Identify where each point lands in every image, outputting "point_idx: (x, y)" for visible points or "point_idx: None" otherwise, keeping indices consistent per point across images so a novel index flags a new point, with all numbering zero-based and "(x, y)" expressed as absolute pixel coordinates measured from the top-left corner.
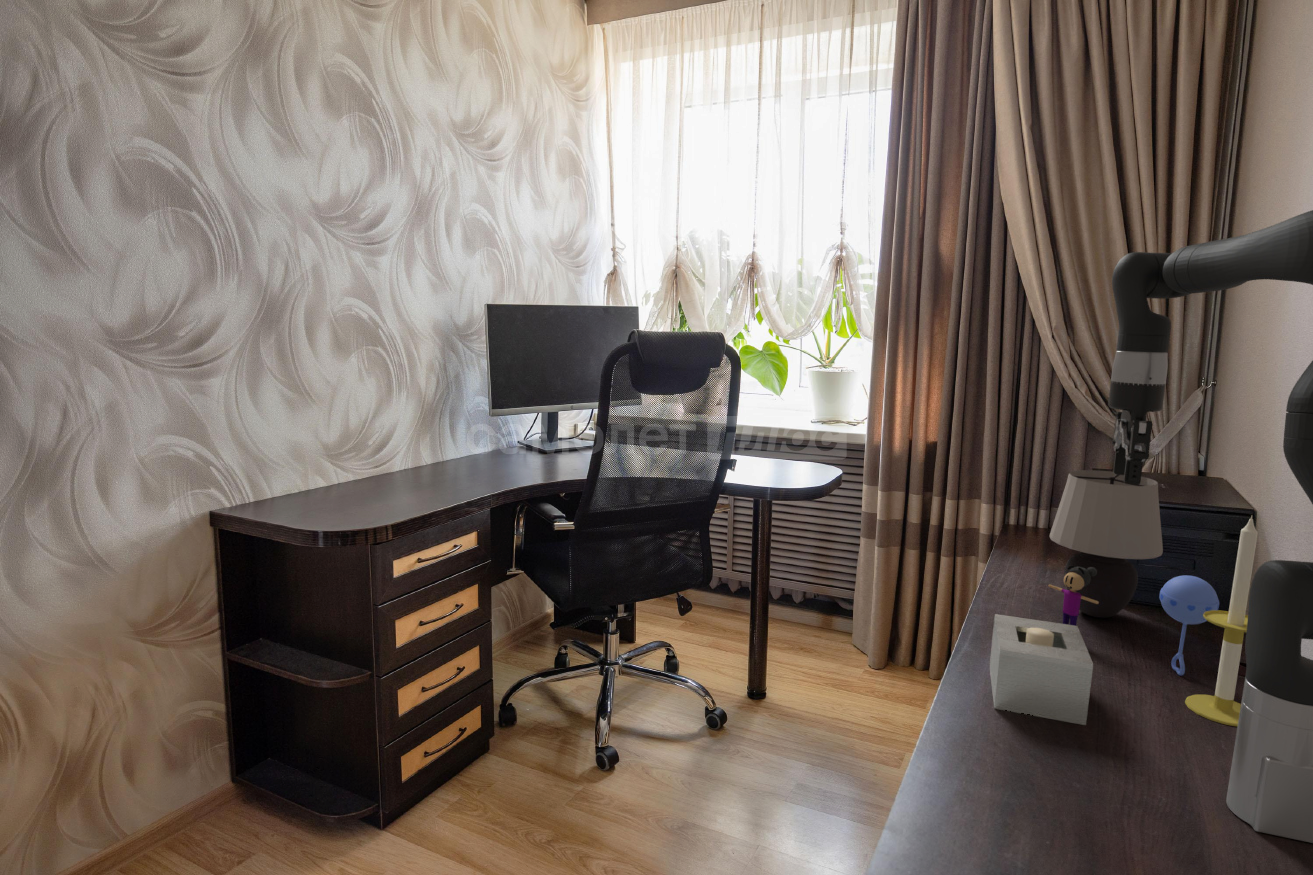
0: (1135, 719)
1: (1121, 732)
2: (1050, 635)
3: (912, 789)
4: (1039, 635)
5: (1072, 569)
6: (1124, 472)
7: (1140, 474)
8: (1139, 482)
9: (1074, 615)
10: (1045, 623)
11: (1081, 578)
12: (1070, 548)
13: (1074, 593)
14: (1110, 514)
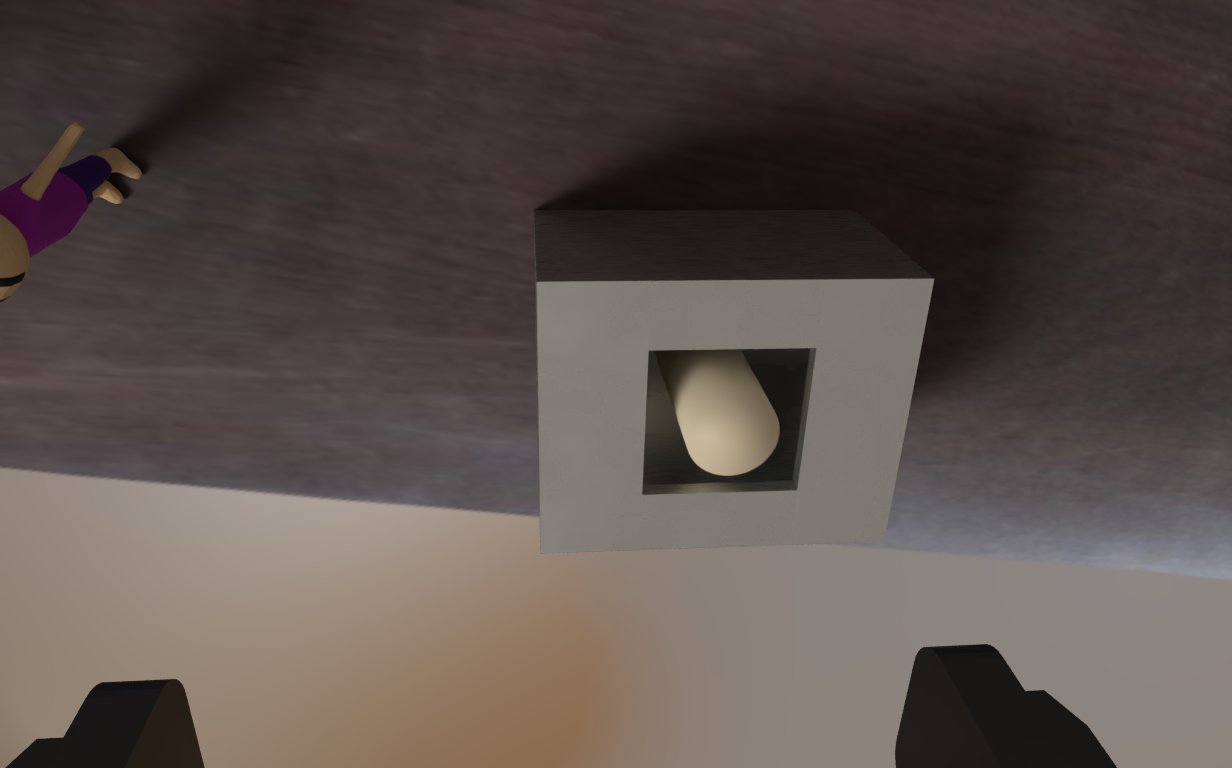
0: (767, 45)
1: (871, 111)
2: (749, 404)
3: (1218, 575)
4: (763, 439)
5: None
6: (172, 736)
7: (1059, 757)
8: (996, 659)
9: (82, 191)
10: (566, 396)
11: None
12: None
13: (24, 231)
14: None
